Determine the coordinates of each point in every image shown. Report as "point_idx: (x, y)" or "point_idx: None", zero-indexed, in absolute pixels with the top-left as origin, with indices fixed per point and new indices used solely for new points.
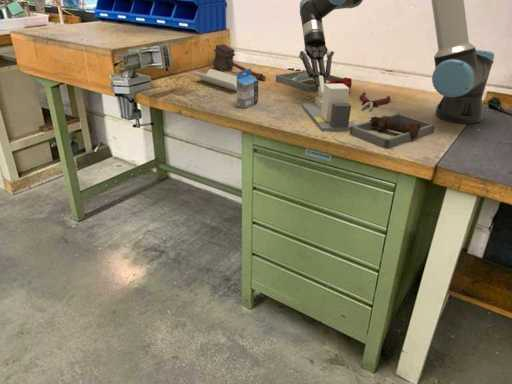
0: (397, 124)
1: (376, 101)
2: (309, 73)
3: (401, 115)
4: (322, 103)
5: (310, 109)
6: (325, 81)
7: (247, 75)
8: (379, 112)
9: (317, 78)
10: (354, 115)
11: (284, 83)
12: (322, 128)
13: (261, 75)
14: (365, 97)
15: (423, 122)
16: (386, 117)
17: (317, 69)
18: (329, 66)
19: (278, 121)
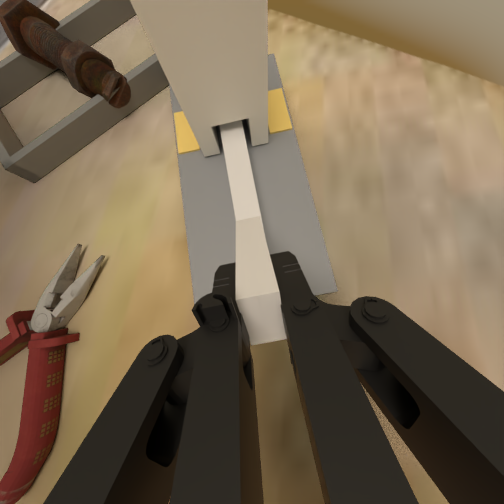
0: (62, 37)
1: (9, 323)
2: (392, 379)
3: (6, 149)
4: (267, 96)
5: (300, 212)
6: (219, 280)
7: None
8: (52, 252)
9: (289, 288)
10: (147, 207)
11: None
12: (272, 54)
13: None
14: (28, 392)
15: None
16: (71, 46)
17: (308, 375)
18: (75, 493)
19: (408, 110)
